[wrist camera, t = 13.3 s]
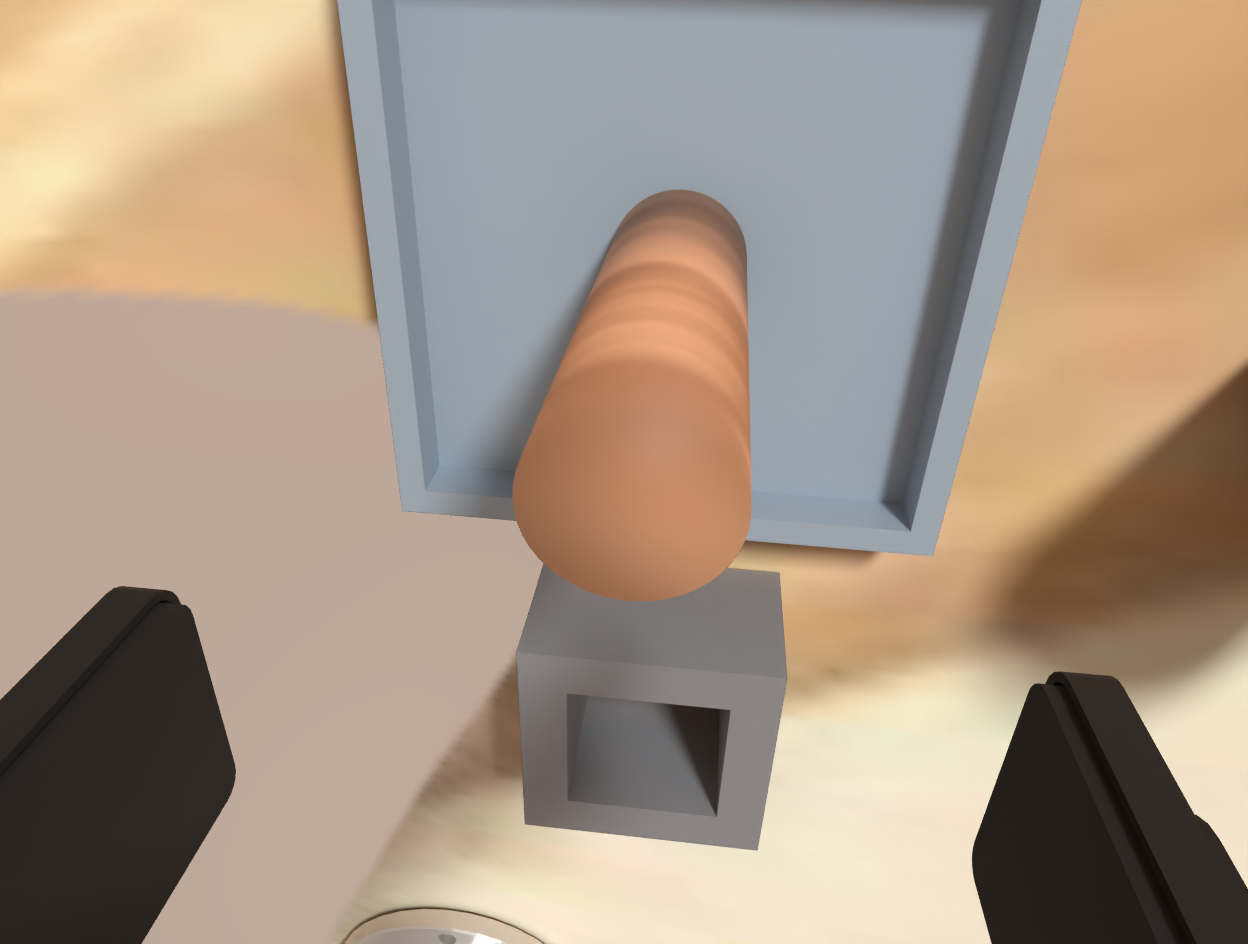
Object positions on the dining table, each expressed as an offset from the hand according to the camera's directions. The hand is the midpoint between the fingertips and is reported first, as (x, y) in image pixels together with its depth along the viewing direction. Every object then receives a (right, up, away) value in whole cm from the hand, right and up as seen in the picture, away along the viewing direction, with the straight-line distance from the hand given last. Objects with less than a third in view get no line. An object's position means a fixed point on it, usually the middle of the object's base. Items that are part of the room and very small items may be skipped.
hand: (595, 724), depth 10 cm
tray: (+2, +9, +14) cm, 17 cm away
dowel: (+2, +9, +13) cm, 16 cm away
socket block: (+2, -4, +22) cm, 22 cm away
